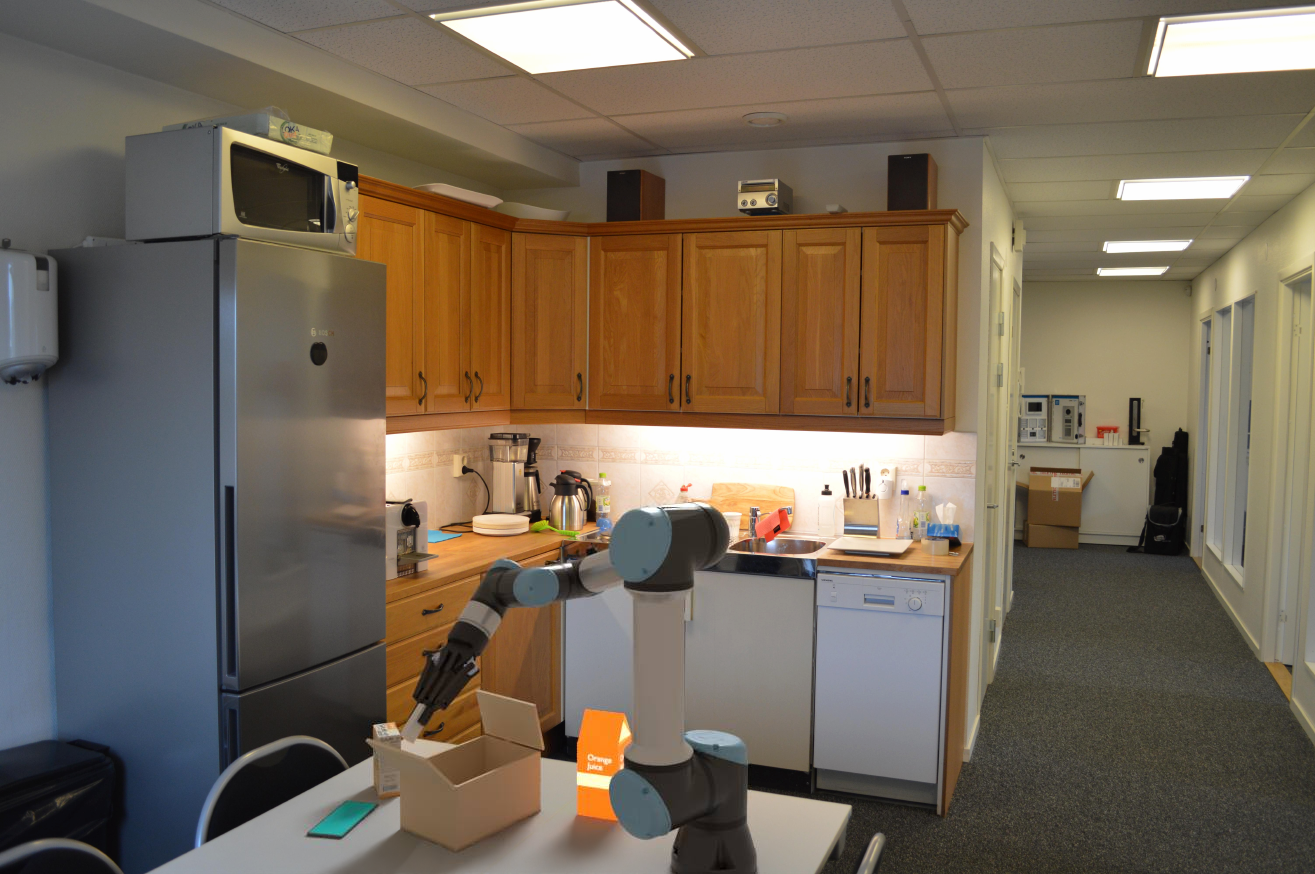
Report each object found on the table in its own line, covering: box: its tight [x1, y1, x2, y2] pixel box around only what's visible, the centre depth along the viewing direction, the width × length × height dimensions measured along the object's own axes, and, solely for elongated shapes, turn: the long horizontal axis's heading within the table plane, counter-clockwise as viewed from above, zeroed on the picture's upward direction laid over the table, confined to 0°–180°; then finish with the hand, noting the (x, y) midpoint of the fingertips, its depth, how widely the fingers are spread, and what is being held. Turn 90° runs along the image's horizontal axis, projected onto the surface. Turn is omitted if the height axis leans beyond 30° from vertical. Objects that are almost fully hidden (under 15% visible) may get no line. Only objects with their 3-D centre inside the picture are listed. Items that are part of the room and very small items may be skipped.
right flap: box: [475, 689, 546, 751], centre depth 190 cm, size 17×10×1 cm
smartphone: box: [306, 800, 379, 840], centre depth 182 cm, size 7×1×15 cm
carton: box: [399, 734, 542, 853], centre depth 182 cm, size 16×22×12 cm
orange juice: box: [576, 709, 632, 822], centre depth 187 cm, size 8×9×20 cm
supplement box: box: [372, 721, 402, 800], centre depth 196 cm, size 8×5×13 cm, turn 25°
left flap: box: [365, 738, 456, 790], centre depth 170 cm, size 17×10×1 cm
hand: (406, 738), depth 169 cm, fingers closed
